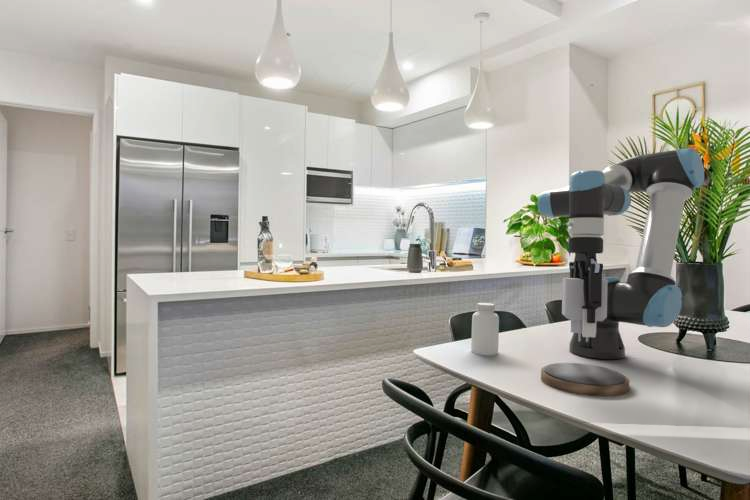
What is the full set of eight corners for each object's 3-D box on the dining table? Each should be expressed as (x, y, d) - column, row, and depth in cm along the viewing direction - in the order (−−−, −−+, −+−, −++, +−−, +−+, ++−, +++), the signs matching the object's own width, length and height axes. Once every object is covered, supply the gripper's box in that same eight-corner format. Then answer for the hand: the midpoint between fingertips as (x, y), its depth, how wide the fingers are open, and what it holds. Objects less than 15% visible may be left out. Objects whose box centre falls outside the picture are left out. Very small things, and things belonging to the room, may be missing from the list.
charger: (607, 344, 103) (608, 279, 103) (565, 342, 104) (566, 278, 104) (600, 340, 107) (602, 278, 107) (560, 338, 109) (561, 277, 109)
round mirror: (605, 372, 115) (605, 363, 115) (646, 397, 96) (646, 385, 96) (531, 370, 116) (531, 361, 116) (556, 394, 97) (557, 383, 97)
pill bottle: (499, 357, 130) (500, 306, 130) (471, 355, 132) (472, 304, 132) (497, 351, 138) (498, 302, 138) (471, 349, 139) (471, 301, 139)
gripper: (556, 237, 115) (554, 327, 115) (585, 235, 97) (583, 341, 97) (585, 238, 114) (583, 328, 115) (620, 235, 96) (618, 342, 96)
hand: (583, 334), depth 106 cm, fingers closed on charger, 5 cm apart
